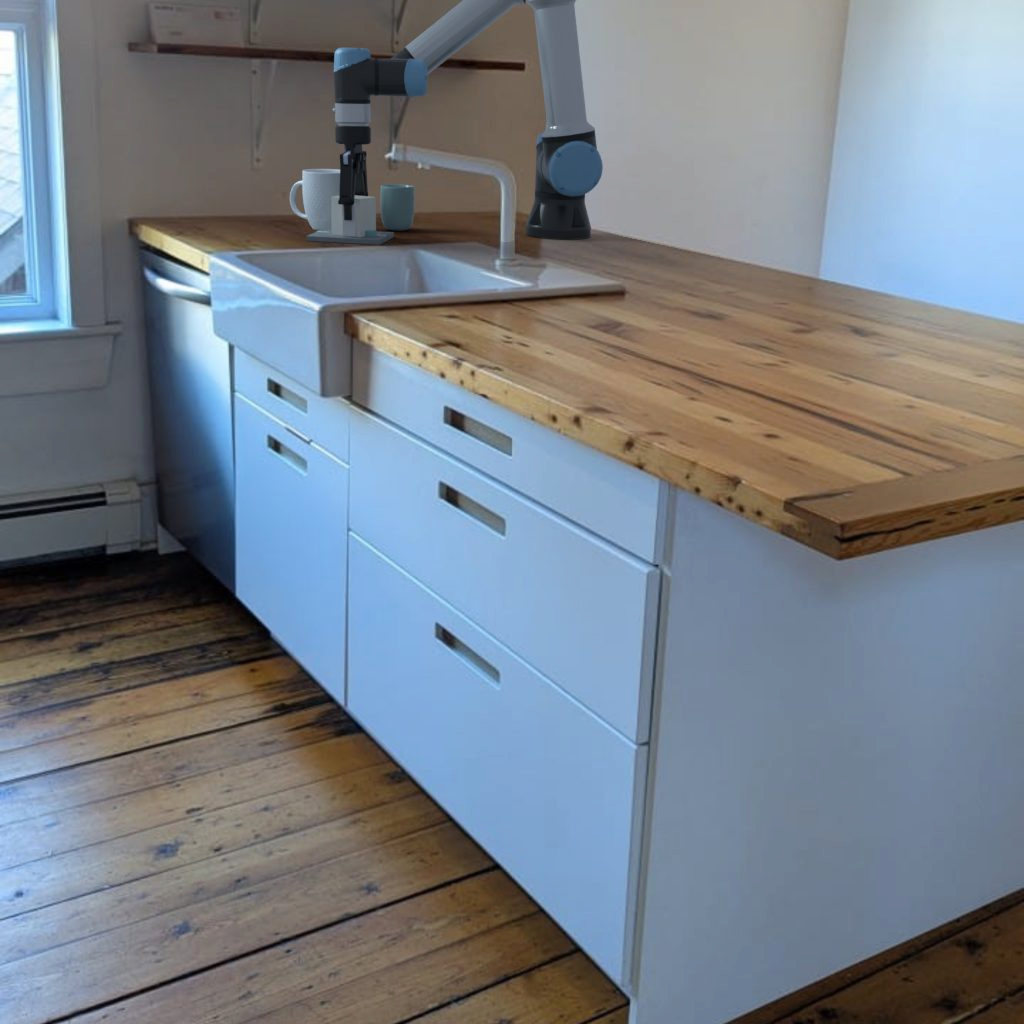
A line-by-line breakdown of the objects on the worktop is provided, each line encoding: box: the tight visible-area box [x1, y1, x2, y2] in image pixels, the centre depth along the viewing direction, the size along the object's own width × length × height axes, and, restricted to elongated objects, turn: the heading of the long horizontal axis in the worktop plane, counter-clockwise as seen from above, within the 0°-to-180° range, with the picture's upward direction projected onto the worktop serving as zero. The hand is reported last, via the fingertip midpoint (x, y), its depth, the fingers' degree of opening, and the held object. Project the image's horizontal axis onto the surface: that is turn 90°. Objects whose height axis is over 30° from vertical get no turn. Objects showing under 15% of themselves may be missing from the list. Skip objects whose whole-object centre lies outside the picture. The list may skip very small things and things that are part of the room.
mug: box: [289, 168, 340, 231], centre depth 300 cm, size 15×11×13 cm
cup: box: [379, 183, 416, 232], centre depth 304 cm, size 8×8×10 cm
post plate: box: [306, 229, 395, 245], centre depth 286 cm, size 16×14×7 cm
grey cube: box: [331, 195, 377, 237], centre depth 285 cm, size 7×10×8 cm
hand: (354, 233), depth 286 cm, fingers closed on grey cube, 8 cm apart
